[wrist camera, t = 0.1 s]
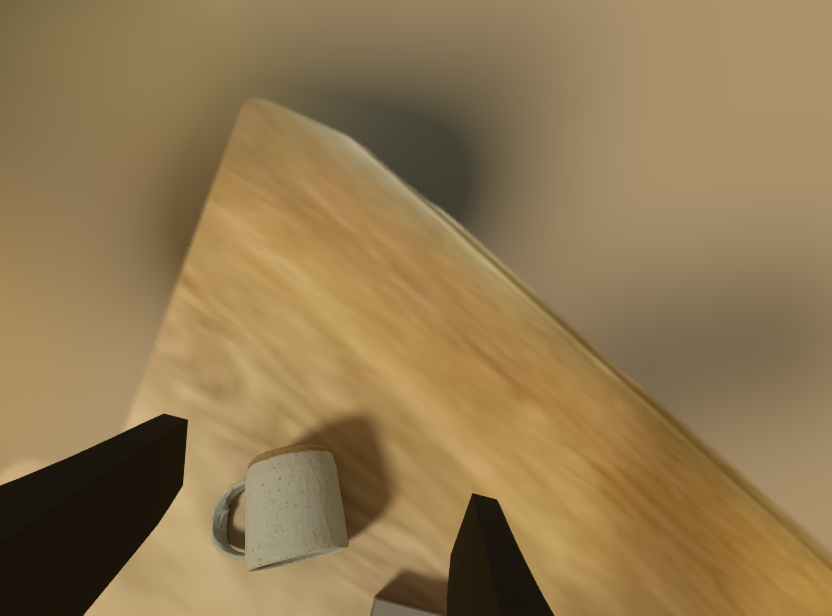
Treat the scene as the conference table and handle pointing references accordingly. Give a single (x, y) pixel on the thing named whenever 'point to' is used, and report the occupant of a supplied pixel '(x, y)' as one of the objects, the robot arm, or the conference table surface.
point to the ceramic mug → (286, 509)
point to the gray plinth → (398, 609)
